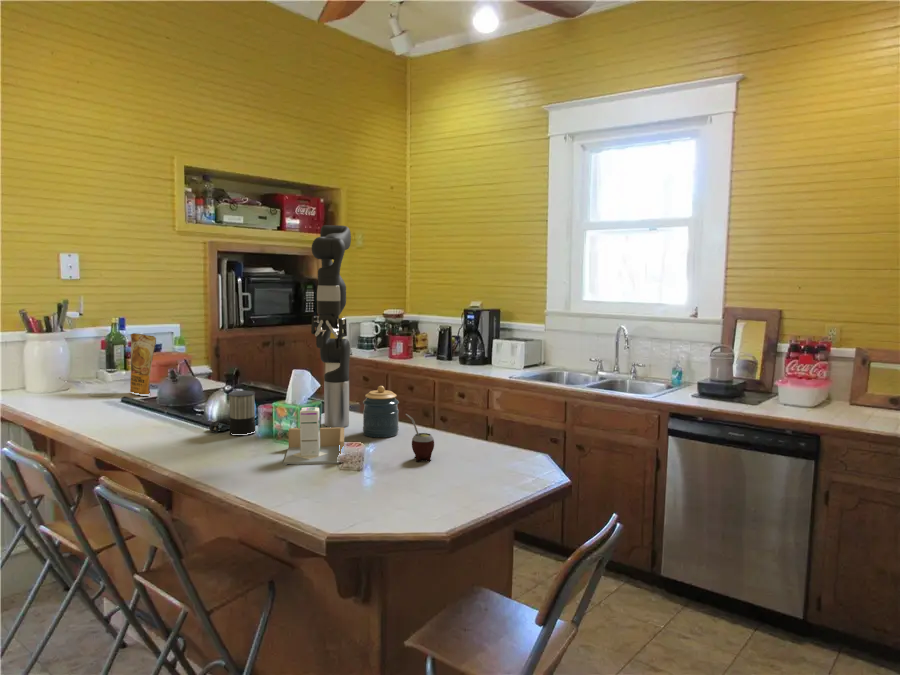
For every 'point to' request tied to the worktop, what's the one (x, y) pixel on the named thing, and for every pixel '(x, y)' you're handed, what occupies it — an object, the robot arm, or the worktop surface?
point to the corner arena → (328, 447)
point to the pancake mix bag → (141, 362)
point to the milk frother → (239, 413)
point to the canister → (380, 413)
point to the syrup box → (310, 431)
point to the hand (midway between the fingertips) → (328, 348)
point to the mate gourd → (422, 444)
